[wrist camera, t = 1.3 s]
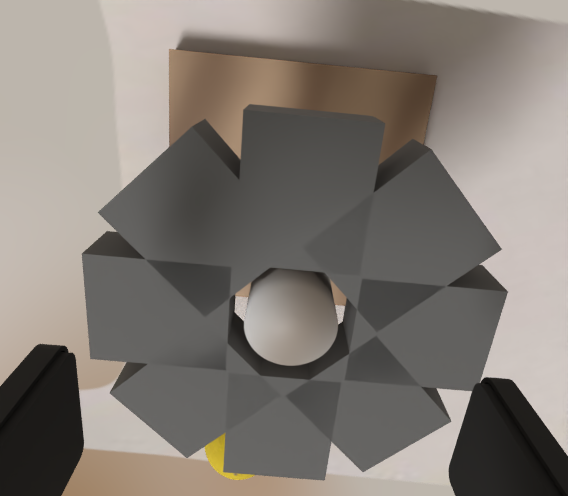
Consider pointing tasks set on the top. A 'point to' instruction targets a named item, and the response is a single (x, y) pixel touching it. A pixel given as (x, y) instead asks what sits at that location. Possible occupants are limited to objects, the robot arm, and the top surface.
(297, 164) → the grey flat ring
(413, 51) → the top surface
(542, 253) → the top surface
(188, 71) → the pipe stand
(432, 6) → the top surface
